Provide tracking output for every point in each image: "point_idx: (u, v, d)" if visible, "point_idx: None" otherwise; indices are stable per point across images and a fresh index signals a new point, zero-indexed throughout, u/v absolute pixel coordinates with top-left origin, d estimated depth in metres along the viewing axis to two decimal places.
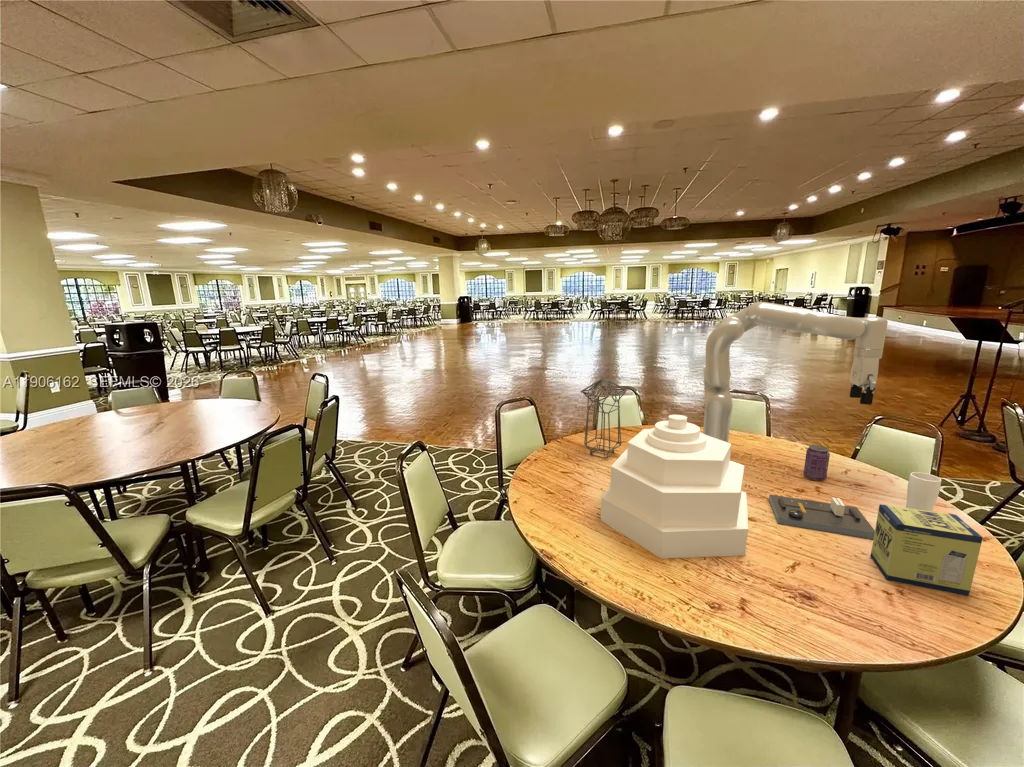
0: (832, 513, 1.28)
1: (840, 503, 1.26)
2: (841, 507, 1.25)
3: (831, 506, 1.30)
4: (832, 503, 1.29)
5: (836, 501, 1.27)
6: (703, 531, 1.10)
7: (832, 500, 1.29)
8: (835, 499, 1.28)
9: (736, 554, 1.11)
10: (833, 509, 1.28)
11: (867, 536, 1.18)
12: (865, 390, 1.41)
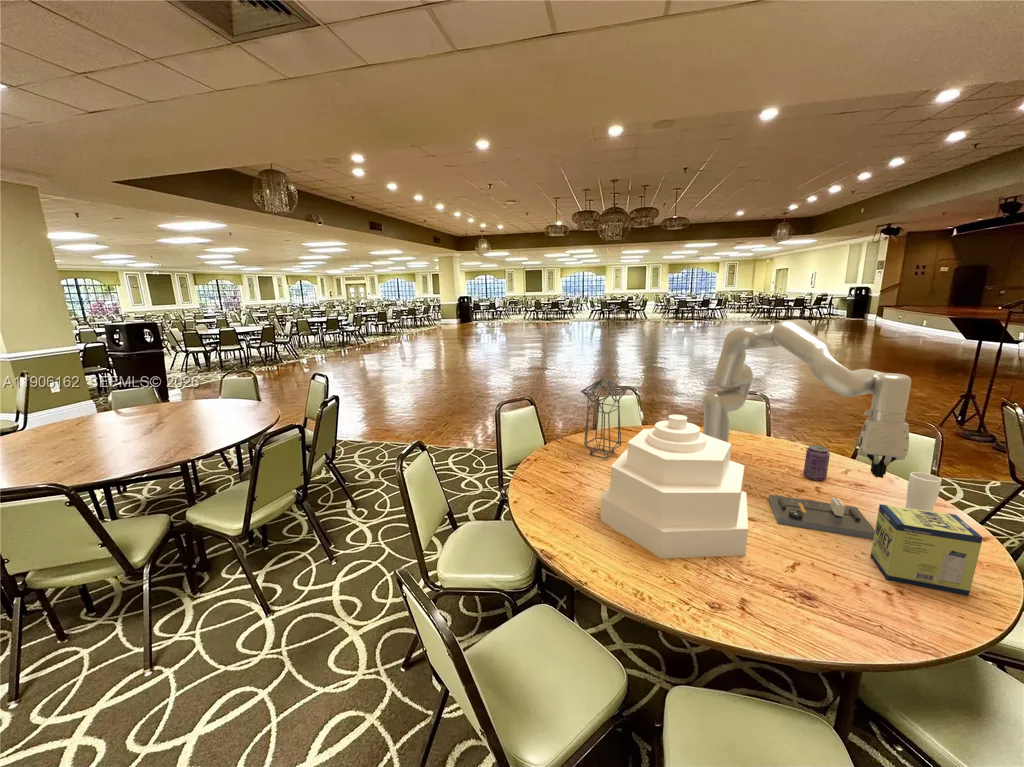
0: (832, 513, 1.28)
1: (840, 503, 1.26)
2: (841, 507, 1.25)
3: (831, 506, 1.30)
4: (832, 503, 1.29)
5: (836, 501, 1.27)
6: (703, 531, 1.10)
7: (832, 500, 1.29)
8: (835, 499, 1.28)
9: (736, 554, 1.11)
10: (833, 509, 1.28)
11: (867, 536, 1.18)
12: None
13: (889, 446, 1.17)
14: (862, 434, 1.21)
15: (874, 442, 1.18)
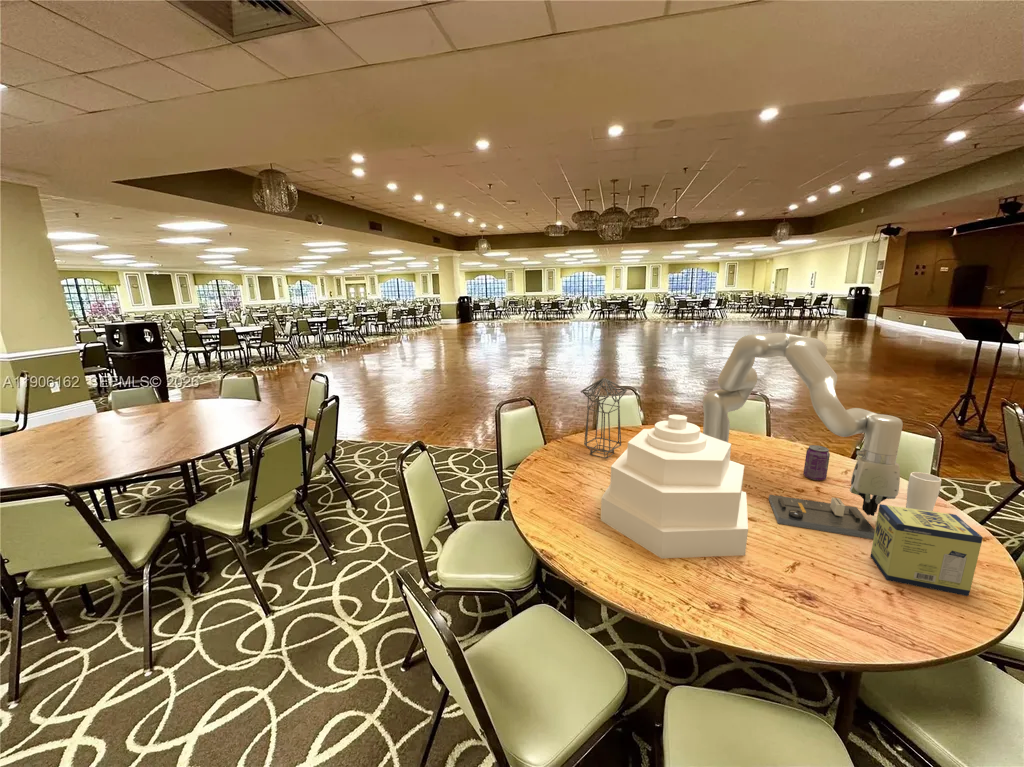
0: (832, 513, 1.28)
1: (840, 503, 1.26)
2: (841, 507, 1.25)
3: (831, 506, 1.30)
4: (832, 503, 1.29)
5: (836, 501, 1.27)
6: (703, 531, 1.10)
7: (832, 500, 1.29)
8: (835, 499, 1.28)
9: (736, 554, 1.11)
10: (833, 509, 1.28)
11: (867, 536, 1.18)
12: None
13: (880, 486, 1.20)
14: (854, 473, 1.24)
15: (866, 481, 1.21)
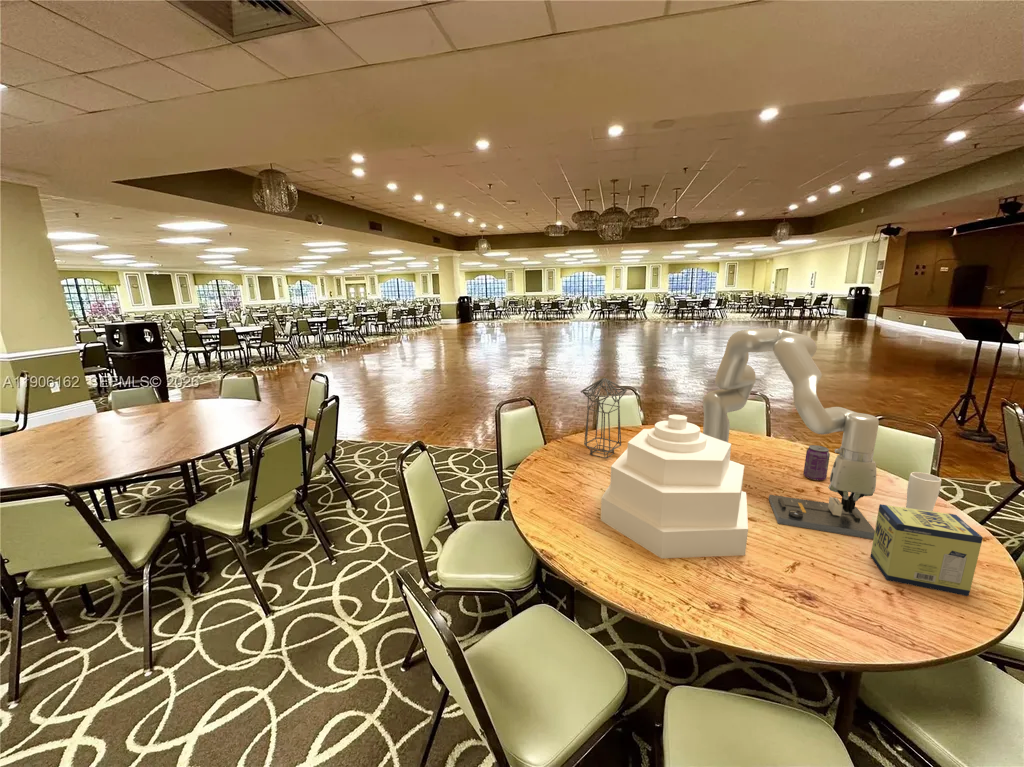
0: None
1: (838, 503, 1.26)
2: (839, 507, 1.25)
3: (829, 506, 1.30)
4: (830, 503, 1.29)
5: (834, 501, 1.27)
6: (703, 531, 1.10)
7: (830, 500, 1.29)
8: (833, 499, 1.29)
9: (736, 554, 1.11)
10: (831, 509, 1.28)
11: (867, 536, 1.18)
12: None
13: (857, 483, 1.22)
14: (833, 470, 1.26)
15: (843, 479, 1.23)
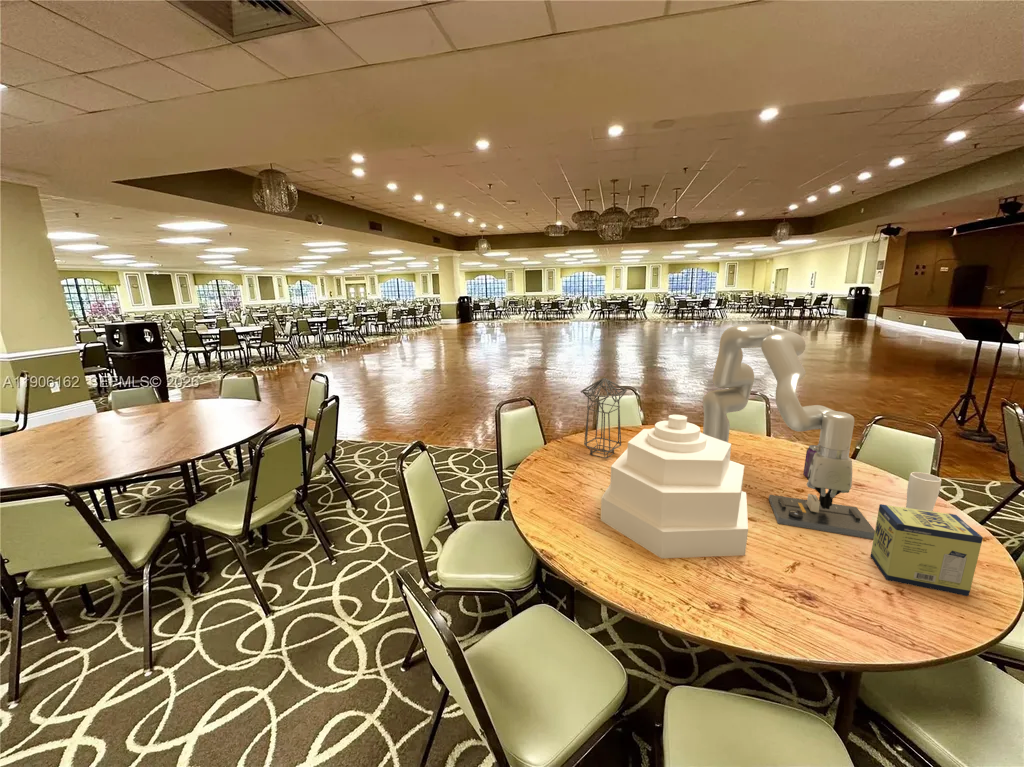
0: (832, 513, 1.28)
1: (815, 499, 1.28)
2: (816, 503, 1.27)
3: (807, 502, 1.32)
4: (808, 500, 1.31)
5: (812, 498, 1.30)
6: (703, 531, 1.10)
7: (808, 497, 1.32)
8: (811, 496, 1.31)
9: (736, 554, 1.11)
10: (809, 505, 1.30)
11: (867, 536, 1.18)
12: (834, 496, 1.26)
13: (834, 480, 1.24)
14: (810, 468, 1.28)
15: (820, 476, 1.25)
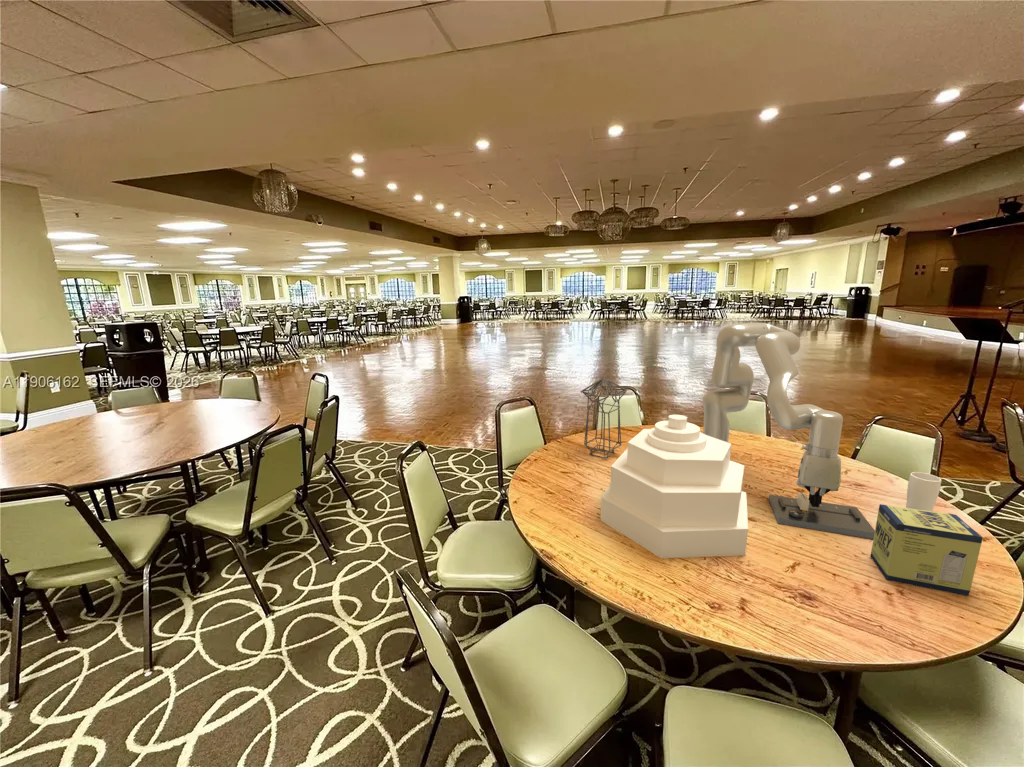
0: (832, 513, 1.28)
1: (805, 498, 1.29)
2: (806, 502, 1.28)
3: (797, 501, 1.33)
4: (798, 498, 1.32)
5: (802, 496, 1.31)
6: (703, 531, 1.10)
7: (798, 495, 1.33)
8: (801, 494, 1.32)
9: (736, 554, 1.11)
10: (799, 504, 1.31)
11: (867, 536, 1.18)
12: None
13: (823, 479, 1.25)
14: (800, 466, 1.29)
15: (810, 475, 1.26)
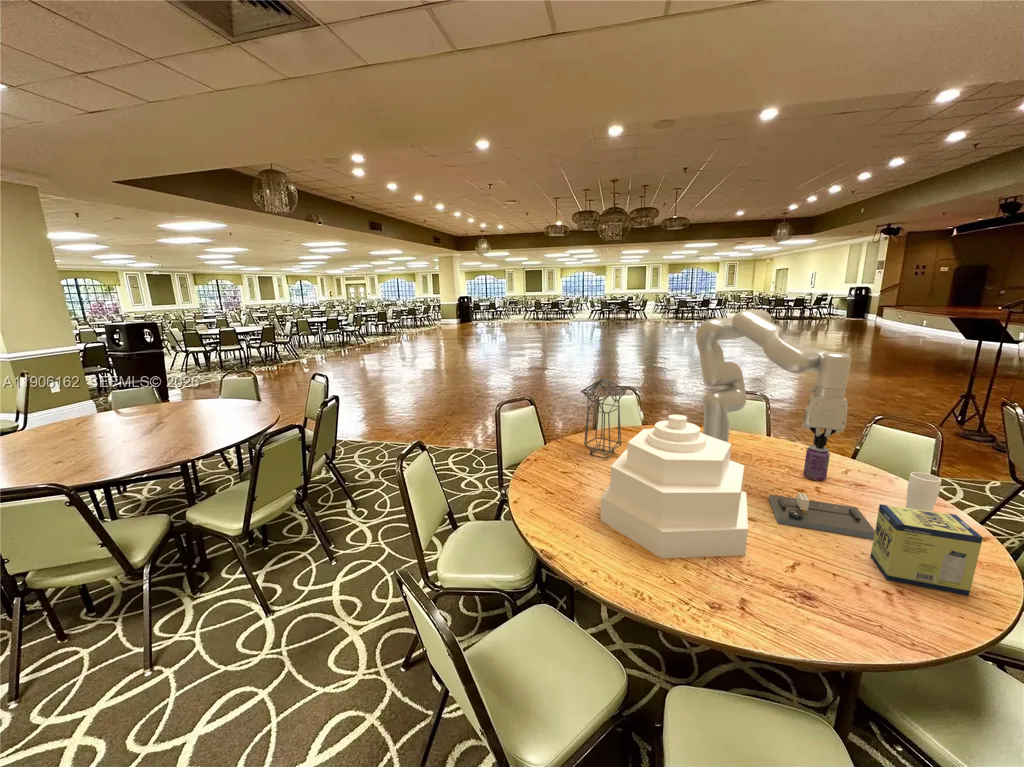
0: (832, 513, 1.28)
1: (805, 498, 1.29)
2: (806, 502, 1.28)
3: (797, 501, 1.33)
4: (798, 498, 1.32)
5: (801, 496, 1.31)
6: (703, 530, 1.10)
7: (798, 495, 1.33)
8: (801, 494, 1.32)
9: (736, 554, 1.11)
10: (799, 504, 1.31)
11: (867, 536, 1.18)
12: (829, 435, 1.29)
13: (829, 419, 1.27)
14: (806, 408, 1.31)
15: (816, 416, 1.28)
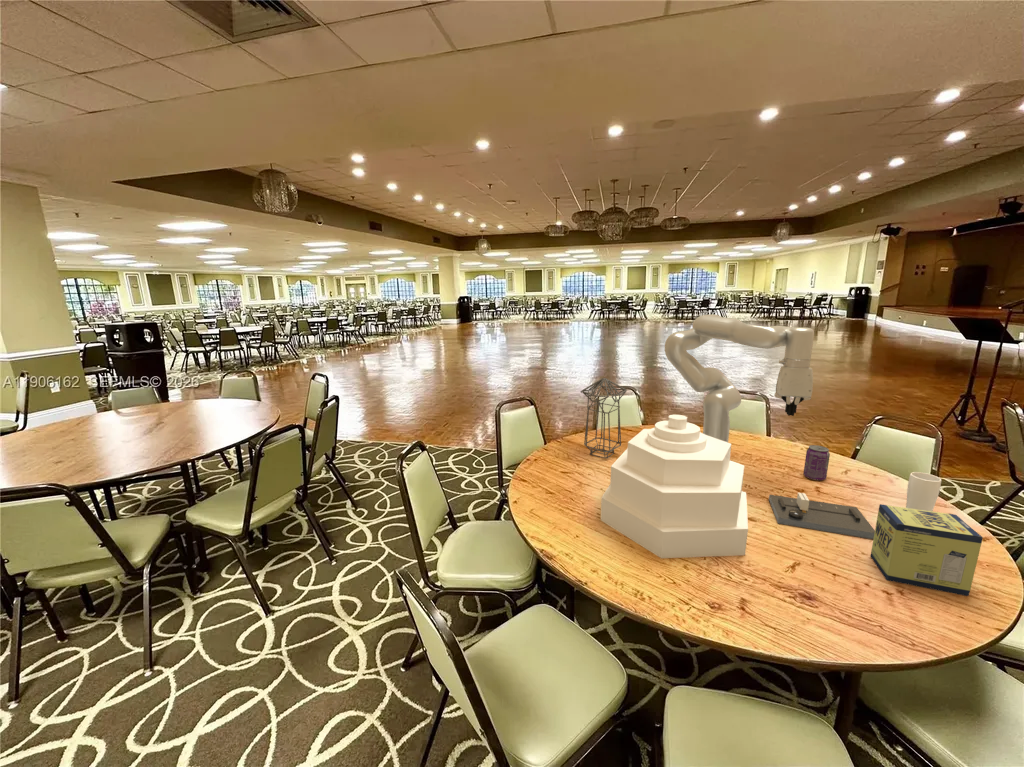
0: (832, 513, 1.28)
1: (805, 498, 1.29)
2: (806, 502, 1.28)
3: (797, 501, 1.33)
4: (798, 498, 1.32)
5: (801, 496, 1.31)
6: (703, 531, 1.10)
7: (798, 495, 1.33)
8: (801, 494, 1.32)
9: (736, 554, 1.11)
10: (799, 504, 1.31)
11: (867, 536, 1.18)
12: (798, 403, 1.43)
13: (797, 388, 1.41)
14: (777, 379, 1.45)
15: (785, 385, 1.42)
